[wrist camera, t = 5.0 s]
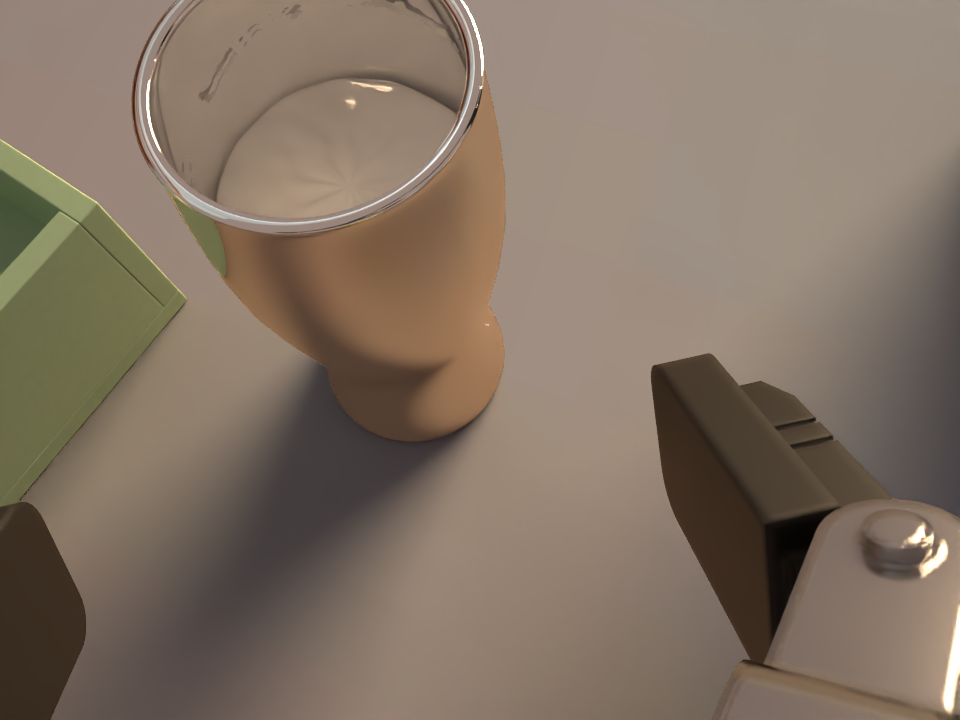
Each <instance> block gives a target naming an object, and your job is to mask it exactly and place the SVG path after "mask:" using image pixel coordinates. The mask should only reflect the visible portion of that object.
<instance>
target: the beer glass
mask: <svg viewBox="0 0 960 720" xmlns="http://www.w3.org/2000/svg"><path fill="white" fill-rule="evenodd" d="M131 109H132V120H133V126H134V131H135V135H136V138H137V141H138V144H139V147H140V150H141V152H142V154H143V156H144V159H145V160H146V162H147V164H148V166H149V167H150V169H151V171H152V172H153V173H154V175H155V176H156V178H157V179H158V180H159V181H160V183H161V184H162V185H163V186H164V188H165V189H166V191H167V193H168V194H169V196H170V198H171V200H172V201H173V203H174V205H175V207H176V209H177V210H178V212H179V214H180V216H181V217H182V219H183V221H184V222H185V224H186V226H187V227H188V229H189V230H190V232H191V234H192V235H193V237H194V239H195V240H196V242H197V244H198V245H199V247H200V248H201V250H202V251H203V253H204V254H205V256H206V257H207V258H208V260H209V261H210V263H211V264H212V265H213V267H214V268H215V270H216V271H217V272H218V274H219V275H220V277H221V278H222V279H223V281H224V282H225V283H226V285H227V286H228V287H229V288H230V289H231V290H232V292H233V293H234V294H235V295H236V296H237V297H238V298H239V299H240V300H241V302H242V303H243V304H244V305H245V306H246V307H247V308H248V309H249V310H250V311H251V313H252V314H253V315H254V316H255V317H256V318H257V319H258V320H260V321H261V322H262V323H263V324H264V325H265V326H267V327H268V328H269V329H271V330H272V331H273V332H274V333H276V334H277V335H278V336H280V337H281V338H282V339H283V340H285V341H286V342H287V343H289V344H290V345H291V346H293V347H294V348H296V349H297V350H299V351H301V352H302V353H304V354H306V355H307V356H309V357H311V358H312V359H314V360H315V361H317V362H319V363H321V364H322V365H324V366H326V367H327V372H328V377H329V381H330V384H331V387H332V389H333V392H334V394H335V396H336V398H337V400H338V402H339V403H340V405H341V407H342V408H343V409H344V411H345V412H346V413H347V414H348V415H349V416H350V417H351V418H352V419H353V420H354V421H355V422H356V423H358V424H359V425H360V426H362V427H363V428H365V429H367V430H368V431H370V432H372V433H374V434H377V435H379V436H382V437H385V438H388V439H393V440H398V441H409V442H416V441H426V440H432V439H436V438H439V437H442V436H445V435H448V434H450V433H452V432H454V431H456V430H458V429H460V428H462V427H463V426H465V425H466V424H468V423H469V422H470V421H471V420H473V419H474V418H475V417H476V416H477V415H478V414H479V413H480V412H481V411H482V410H483V409H484V408H485V406H486V405H487V404H488V402H489V401H490V399H491V398H492V396H493V394H494V393H495V391H496V389H497V387H498V384H499V382H500V379H501V376H502V372H503V367H504V357H505V350H504V341H503V336H502V332H501V329H500V326H499V323H498V321H497V319H496V316H495V315H494V313H493V311H492V309H491V308H490V306H489V300H490V297H491V294H492V291H493V287H494V283H495V280H496V276H497V273H498V269H499V264H500V259H501V253H502V247H503V240H504V234H505V226H506V191H505V173H504V165H503V157H502V149H501V142H500V135H499V130H498V125H497V120H496V115H495V111H494V106H493V101H492V97H491V93H490V88H489V84H488V80H487V76H486V71H485V58H484V50H483V45H482V41H481V37H480V33H479V30H478V28H477V25H476V23H475V20H474V18H473V16H472V14H471V12H470V10H469V8H468V7H467V5H466V4H465V2H464V1H463V0H176V1H175V2H174V3H173V4H172V5H171V6H170V8H169V9H168V10H167V11H166V12H165V14H164V15H163V16H162V17H161V19H160V20H159V22H158V23H157V25H156V26H155V28H154V29H153V31H152V33H151V34H150V36H149V38H148V40H147V42H146V44H145V46H144V48H143V51H142V53H141V56H140V58H139V61H138V64H137V68H136V71H135V76H134V81H133V86H132V99H131Z"/></svg>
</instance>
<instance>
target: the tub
mask: <svg viewBox="0 0 960 720" xmlns="http://www.w3.org/2000/svg"><path fill="white" fill-rule="evenodd" d="M186 300H187V298H186V297H185V296H184V295H183V294H182V293H181V292H180V291H179V290H178V289H177V287H176V286H175V285H174V284H173V283H172V282H171V281H170V280H169V279H168V278H167V277H166V276H165V275H164V273H163V272H162V271H161V270H160V269H159V268H158V267H157V266H156V265H155V264H154V263H153V262H152V261H151V259H150V258H149V257H148V256H147V255H146V254H145V253H144V252H143V251H142V250H141V249H140V248H139V247H138V246H137V244H136V243H135V242H134V241H133V240H132V239H131V238H130V237H129V236H128V235H127V234H126V233H125V232H124V230H123V229H122V228H121V227H120V226H119V225H118V224H117V223H116V222H115V221H114V220H113V219H112V218H111V217H110V215H109V214H108V213H107V212H106V211H105V210H104V209H103V208H102V207H101V206H100V205H99V204H98V203H97V202H96V201H94V200H93V199H91V198H90V197H88V196H87V195H85V194H84V193H82V192H81V191H79V190H78V189H76V188H74V187H73V186H71V185H70V184H68V183H67V182H65V181H64V180H62V179H61V178H59V177H58V176H56V175H55V174H53V173H52V172H50V171H48V170H47V169H45V168H44V167H42V166H41V165H39V164H38V163H36V162H35V161H33V160H32V159H30V158H29V157H27V156H25V155H24V154H22V153H21V152H19V151H18V150H16V149H15V148H13V147H12V146H10V145H9V144H7V143H6V142H4V141H2V140H1V139H0V507H2V506H6V505H11V504H15V503H17V502H18V501H19V499H20V498H21V497H22V496H23V495H24V493H25V492H26V491H27V490H28V489H29V488H30V486H31V485H32V484H33V483H34V482H35V480H36V479H37V478H38V477H39V476H40V474H41V473H42V472H43V471H44V470H45V468H46V467H47V466H48V465H49V464H50V462H51V461H52V460H53V459H54V458H55V457H56V455H57V454H58V453H59V452H60V451H61V449H62V448H63V447H64V446H65V445H66V443H67V442H68V441H69V440H70V439H71V437H72V436H73V435H74V434H75V433H76V431H77V430H78V429H79V428H80V427H81V426H82V424H83V423H84V422H85V421H86V420H87V418H88V417H89V416H90V415H91V414H92V412H93V411H94V410H95V409H96V408H97V406H98V405H99V404H100V403H101V402H102V400H103V399H104V398H105V397H106V396H107V395H108V393H109V392H110V391H111V390H112V389H113V387H114V386H115V385H116V384H117V383H118V381H119V380H120V379H121V378H122V377H123V375H124V374H125V373H126V372H127V371H128V369H129V368H130V367H131V366H132V365H133V364H134V362H135V361H136V360H137V359H138V358H139V356H140V355H141V354H142V353H143V352H144V350H145V349H146V348H147V347H148V346H149V344H150V343H151V342H152V341H153V340H154V339H155V337H156V336H157V335H158V334H159V333H160V331H161V330H162V329H163V328H164V327H165V325H166V324H167V323H168V322H169V321H170V319H171V318H172V317H173V316H174V315H175V313H176V312H177V311H178V310H179V309H180V308H181V306H182V305H183V304H184V303H185V302H186Z"/></svg>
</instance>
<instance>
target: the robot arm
mask: <svg viewBox="0 0 960 720" xmlns="http://www.w3.org/2000/svg"><path fill="white" fill-rule="evenodd" d="M651 384H652V393H653V401H654V409H655V417H656V425H657V433H658V441H659V450H660V458H661V466H662V473H663V478H664V483H665V487H666V491H667V495H668V498H669V501H670V505H671V507H672V510H673V513H674V515H675V517H676V519H677V521H678V523H679V525H680V527H681V529H682V531H683V532H684V534H685V536H686V538H687V540H688V542H689V544H690V546H691V548H692V550H693V551H694V553H695V555H696V557H697V559H698V561H699V563H700V565H701V567H702V568H703V570H704V572H705V574H706V576H707V578H708V580H709V582H710V584H711V586H712V587H713V589H714V591H715V593H716V595H717V597H718V599H719V601H720V603H721V604H722V606H723V608H724V610H725V612H726V614H727V616H728V618H729V620H730V622H731V623H732V625H733V627H734V629H735V631H736V633H737V635H738V637H739V639H740V641H741V642H742V644H743V646H744V648H745V650H746V652H747V654H748V656H749V658H750V659H751V660H742V661H741V662H739V664H738V665H737V666H736V667H735V669H734V671H733V672H732V674H731V676H730V678H729V680H728V682H727V685H726V687H725V689H724V692H723V694H722V696H721V699H720V701H719V703H718V706H717V708H716V710H715V713H714V715H713V717H712V720H960V518H958V517H957V516H955V515H953V514H951V513H949V512H947V511H945V510H942V509H940V508H938V507H935V506H931V505H928V504H925V503H921V502H915V501H910V500H902V499H893V498H892V497H891V496H890V495H889V494H888V493H887V492H886V491H885V490H884V489H883V488H882V487H881V485H880V484H879V483H878V482H877V481H876V480H875V479H874V478H873V477H872V476H871V475H870V474H869V473H868V472H867V471H866V470H865V469H864V468H863V467H862V466H861V465H860V464H859V463H858V461H857V460H856V459H855V458H854V457H853V456H852V455H851V454H850V453H849V452H848V451H847V450H846V449H845V448H844V447H843V446H842V445H841V444H840V443H839V442H838V441H837V440H836V441H834V439H833V435H832V434H831V433H830V432H829V431H828V430H827V429H826V428H825V427H824V426H823V425H822V424H821V423H820V422H816V418H815V417H814V416H813V414H812V413H811V412H810V411H809V410H808V409H807V408H806V407H805V406H804V405H803V404H802V403H801V402H800V401H799V400H798V399H797V398H796V397H795V396H794V395H791V394H789V393H787V392H785V391H782V390H780V389H778V388H775V387H773V386H771V385H769V384H766V383H764V382H762V381H759V382H754V383H750V384H745V385H741V386H739V385H738V384H737V383H736V381H735V380H734V379H733V378H732V377H731V376H730V374H729V373H728V372H727V371H726V370H725V368H724V367H723V366H722V365H721V364H720V363H719V361H718V360H717V359H716V358H715V357H714V356H713V355H712V354H710V353H708V354H704V355H699V356H694V357H690V358H685V359H681V360H676V361H672V362H667V363H662V364H658V365H654V366H653V367H652V370H651ZM85 635H86V615H85V609H84V604H83V601H82V598H81V596H80V594H79V592H78V589H77V587H76V585H75V583H74V581H73V579H72V577H71V575H70V573H69V571H68V569H67V567H66V565H65V563H64V561H63V559H62V557H61V555H60V553H59V551H58V549H57V547H56V544H55V542H54V540H53V538H52V536H51V534H50V532H49V530H48V528H47V526H46V524H45V522H44V520H43V518H42V516H41V515H40V513H39V512H38V510H37V509H36V508H35V507H34V506H32V505H31V504H29V503H26V502H20V503H15V504H11V505H6V506H2V507H0V720H50V719H51V716H52V714H53V712H54V710H55V708H56V705H57V703H58V701H59V699H60V696H61V694H62V692H63V690H64V688H65V685H66V683H67V681H68V679H69V676H70V674H71V672H72V670H73V667H74V665H75V663H76V661H77V659H78V656H79V654H80V652H81V650H82V647H83V644H84V641H85Z"/></svg>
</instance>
